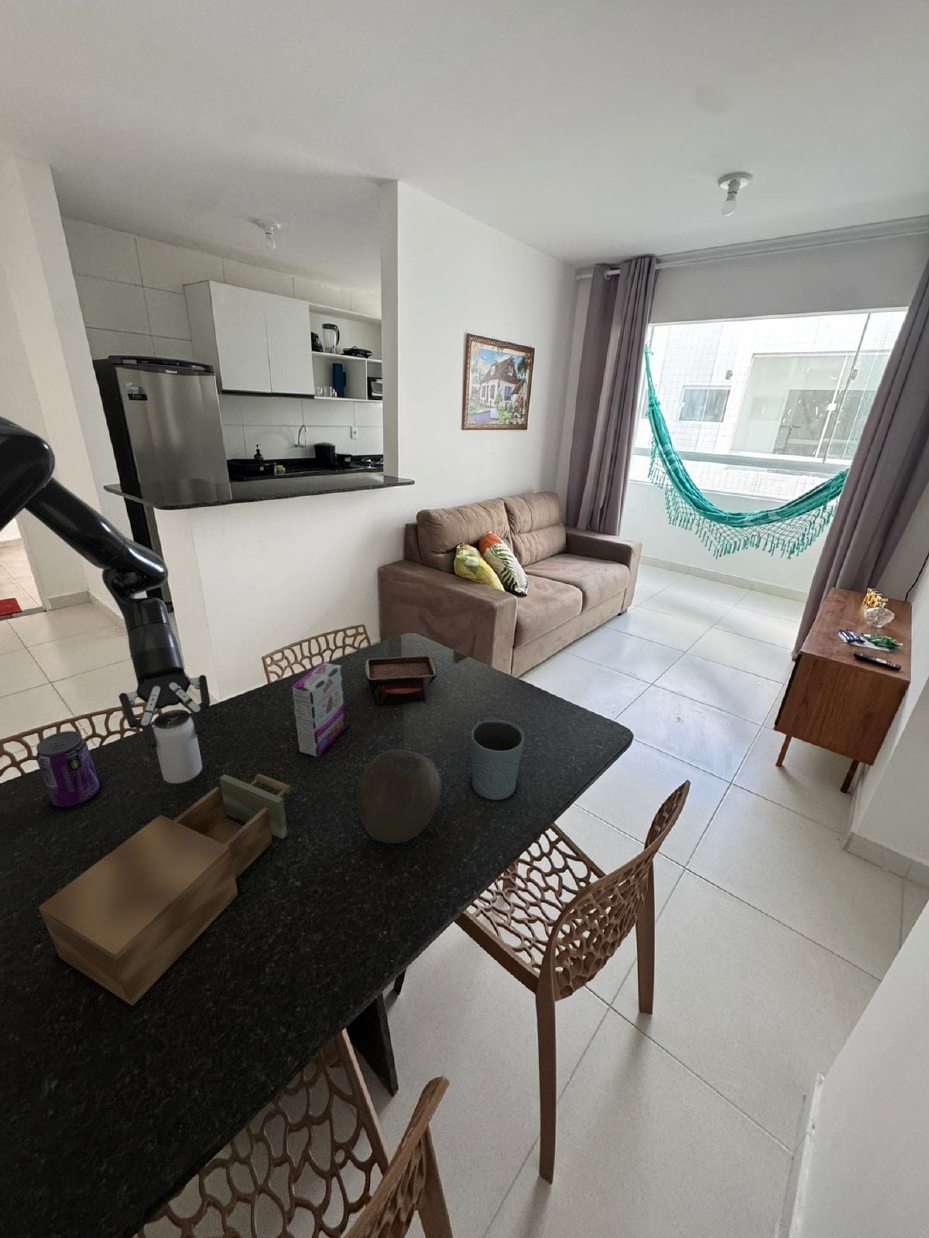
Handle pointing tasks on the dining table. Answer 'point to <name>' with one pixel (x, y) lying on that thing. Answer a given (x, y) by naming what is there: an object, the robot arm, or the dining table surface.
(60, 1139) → the dining table surface
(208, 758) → the dining table surface
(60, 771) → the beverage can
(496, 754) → the teal cup
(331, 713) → the candy bar box
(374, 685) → the baking dish
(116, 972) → the cabinet
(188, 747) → the can
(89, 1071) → the dining table surface
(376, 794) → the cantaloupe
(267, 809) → the drawer
